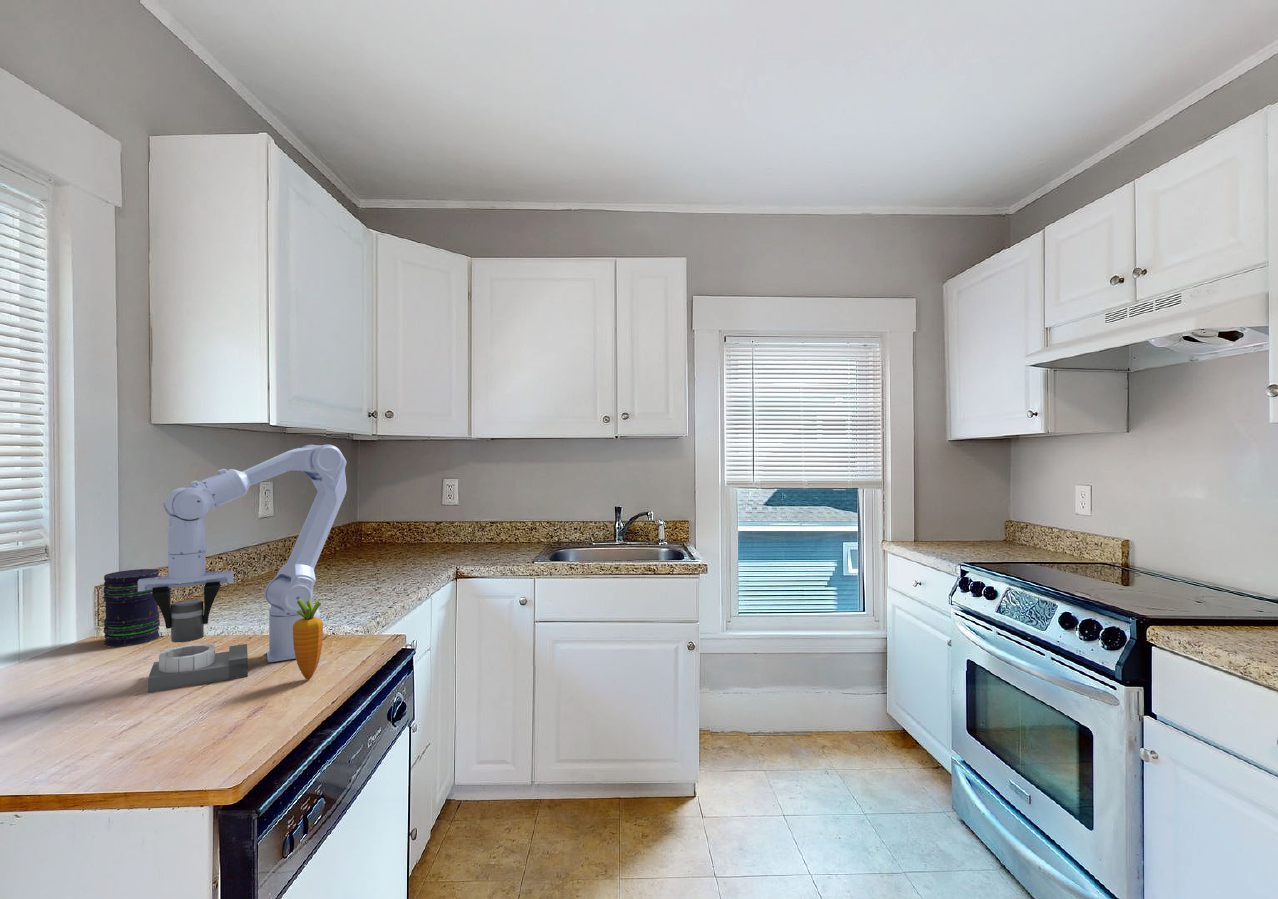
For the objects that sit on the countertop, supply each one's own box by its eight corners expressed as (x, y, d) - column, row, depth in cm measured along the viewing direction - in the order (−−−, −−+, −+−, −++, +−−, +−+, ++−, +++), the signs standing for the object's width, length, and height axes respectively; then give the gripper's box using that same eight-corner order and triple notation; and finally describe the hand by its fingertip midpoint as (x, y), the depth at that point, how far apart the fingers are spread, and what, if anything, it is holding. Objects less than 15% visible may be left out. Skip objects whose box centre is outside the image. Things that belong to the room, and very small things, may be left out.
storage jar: (136, 647, 139) (136, 577, 139) (91, 647, 139) (90, 577, 139) (170, 633, 149) (170, 569, 149) (128, 633, 149) (128, 568, 149)
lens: (209, 633, 123) (209, 599, 123) (194, 642, 118) (193, 606, 118) (181, 634, 123) (180, 600, 123) (164, 643, 118) (164, 607, 118)
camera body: (247, 661, 130) (246, 636, 130) (247, 676, 122) (247, 649, 122) (154, 675, 122) (154, 648, 122) (147, 692, 114) (147, 664, 114)
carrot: (329, 676, 121) (328, 596, 121) (308, 686, 117) (307, 603, 117) (308, 673, 123) (308, 594, 123) (286, 682, 118) (286, 600, 118)
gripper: (233, 546, 128) (233, 614, 128) (140, 552, 120) (141, 625, 120) (232, 551, 122) (233, 623, 122) (135, 558, 114) (136, 635, 114)
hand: (187, 625), depth 121 cm, fingers closed on lens, 5 cm apart
